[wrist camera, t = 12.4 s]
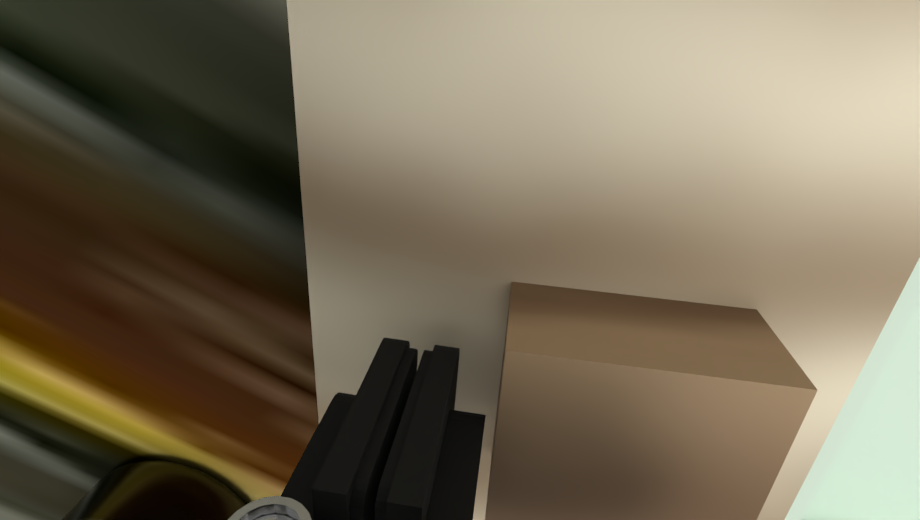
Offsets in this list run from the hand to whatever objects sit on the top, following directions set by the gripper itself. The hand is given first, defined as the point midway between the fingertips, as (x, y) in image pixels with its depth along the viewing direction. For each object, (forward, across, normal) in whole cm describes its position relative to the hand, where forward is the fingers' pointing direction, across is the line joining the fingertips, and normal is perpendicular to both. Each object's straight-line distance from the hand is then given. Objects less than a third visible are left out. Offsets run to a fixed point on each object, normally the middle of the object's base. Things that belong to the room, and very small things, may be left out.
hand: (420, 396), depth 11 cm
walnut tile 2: (+1, -4, 0) cm, 4 cm away
